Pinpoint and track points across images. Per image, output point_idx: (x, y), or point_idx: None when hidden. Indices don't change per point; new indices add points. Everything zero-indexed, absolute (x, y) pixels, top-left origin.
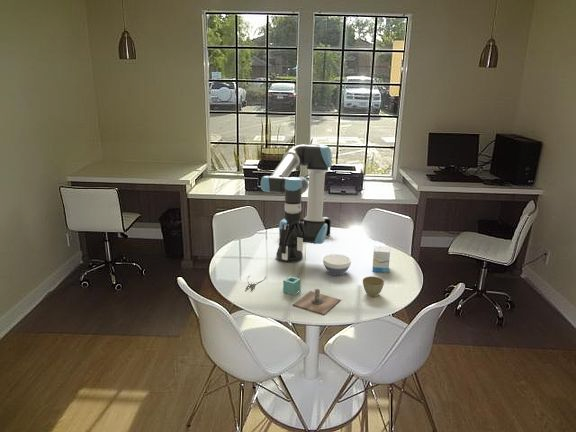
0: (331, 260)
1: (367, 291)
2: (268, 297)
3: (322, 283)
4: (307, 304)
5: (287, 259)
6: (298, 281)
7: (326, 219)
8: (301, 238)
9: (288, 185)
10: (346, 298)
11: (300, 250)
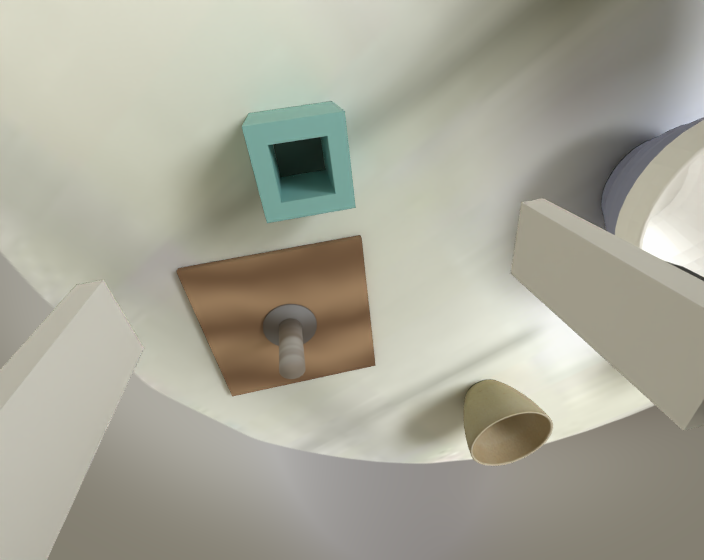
0: None
1: (465, 411)
2: (106, 86)
3: (484, 214)
4: (236, 315)
5: (137, 353)
6: (326, 210)
7: None
8: (688, 418)
9: None
10: (404, 363)
11: (518, 257)
